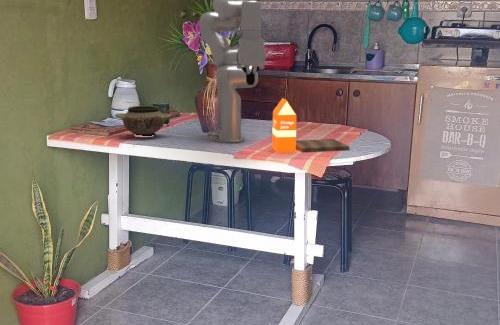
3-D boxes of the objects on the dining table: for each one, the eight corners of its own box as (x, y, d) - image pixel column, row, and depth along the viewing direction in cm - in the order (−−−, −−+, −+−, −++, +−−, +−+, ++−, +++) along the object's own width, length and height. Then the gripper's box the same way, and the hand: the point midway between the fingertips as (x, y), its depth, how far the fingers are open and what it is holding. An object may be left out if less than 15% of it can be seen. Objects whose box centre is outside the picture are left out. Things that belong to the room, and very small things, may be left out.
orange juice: (290, 147, 240) (292, 97, 236) (295, 152, 232) (297, 100, 227) (271, 147, 239) (272, 98, 235) (276, 152, 231) (277, 100, 226)
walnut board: (302, 152, 231) (302, 148, 231) (288, 144, 246) (288, 140, 246) (349, 149, 237) (349, 146, 236) (333, 142, 252) (333, 138, 251)
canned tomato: (173, 125, 289) (172, 103, 287) (159, 127, 284) (158, 104, 281) (163, 123, 295) (163, 101, 292) (150, 125, 289) (149, 102, 287)
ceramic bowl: (174, 140, 267) (175, 106, 268) (169, 137, 250) (169, 101, 250) (119, 139, 267) (120, 106, 268) (110, 136, 250) (111, 101, 250)
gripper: (233, 35, 216) (233, 85, 220) (273, 35, 220) (272, 85, 224) (228, 34, 223) (228, 84, 227) (267, 35, 227) (266, 83, 231)
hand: (250, 84), depth 226 cm, fingers closed
